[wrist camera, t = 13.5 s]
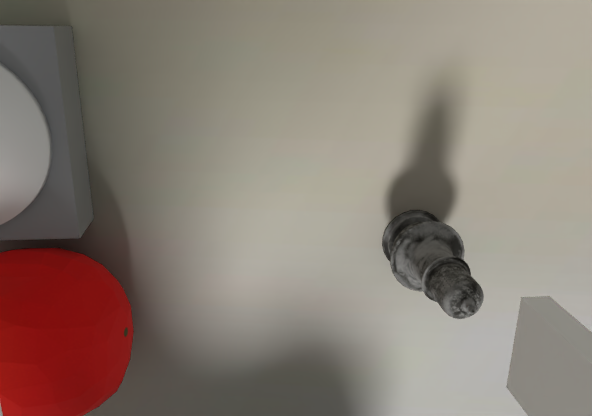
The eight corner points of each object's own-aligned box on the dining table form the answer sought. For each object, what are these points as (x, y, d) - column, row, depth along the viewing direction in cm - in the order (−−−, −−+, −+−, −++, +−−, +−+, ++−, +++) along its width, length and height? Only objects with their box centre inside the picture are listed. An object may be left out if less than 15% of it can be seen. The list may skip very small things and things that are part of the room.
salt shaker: (364, 248, 45) (409, 325, 33) (409, 193, 43) (471, 252, 32) (416, 283, 46) (476, 367, 35) (461, 231, 45) (537, 300, 34)
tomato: (152, 271, 46) (-12, 251, 45) (135, 244, 34) (-90, 214, 32) (124, 428, 43) (-54, 413, 41) (94, 459, 31) (-160, 440, 29)
